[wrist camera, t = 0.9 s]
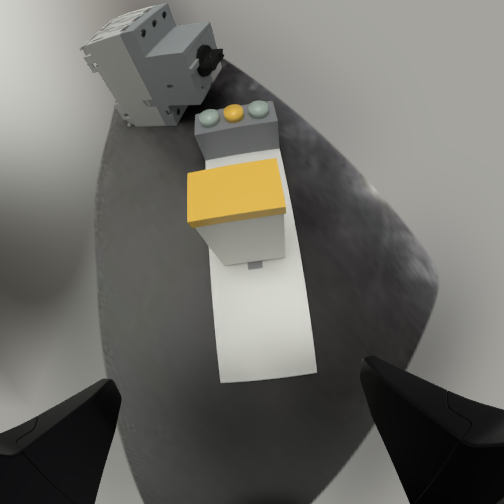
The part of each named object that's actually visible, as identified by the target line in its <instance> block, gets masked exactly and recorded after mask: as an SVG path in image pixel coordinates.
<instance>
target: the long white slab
mask: <svg viewBox="0 0 504 504" xmlns="http://www.w3.org/2000/svg"><path fill="white" fill-rule="evenodd" d="M195 137H196V140H197V142H198V144H199V147H200V149H201V151H202V154H203V156H204V158H205V161H206V170H207V169H212V168H217V167H223V166H228V165H234V164H240V163H246V162H253V161H259V160H266V159H273V158H277V163H278V168H279V173H280V178H281V183H282V188H283V193H284V199H285V204H286V214H284V231H285V257H282V258H275V259H268V260H261V261H254V262H247V263H239V264H232V265H225V266H224V265H223V264H222V262H221V261H220V260H219V259H218V257H217V256H216V255H215V253H214V252H213V251H212V249H211V248H210V247H209V257H210V273H211V287H212V300H213V312H214V324H215V335H216V345H217V355H218V365H219V374H220V382H221V383H229V382H244V381H256V380H266V379H275V378H283V377H291V376H298V375H305V374H311V373H317V368H316V359H315V351H314V343H313V335H312V328H311V321H310V314H309V307H308V300H307V293H306V287H305V280H304V274H303V268H302V262H301V256H300V250H299V244H298V239H297V233H296V228H295V222H294V217H293V212H292V206H291V201H290V196H289V191H288V186H287V181H286V176H285V172H284V167H283V162H282V158H281V153H280V149H279V133H278V120H277V116H276V112H275V109H274V105H273V101H268V102H264V101H254V102H252V103H250V104H247V105H241V106H240V105H236V104H234V105H229V106H227V107H226V108H224V109H219V110H214V109H208V110H205V111H203V112H202V113H200V114H195Z"/></svg>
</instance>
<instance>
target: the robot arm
mask: <svg viewBox="0 0 504 504" xmlns="http://www.w3.org/2000/svg"><path fill="white" fill-rule="evenodd" d="M360 380H361V384H362V387H363V390H364V393H365V396H366V399H367V403H368V406H369V409H370V412H371V415H372V417H373V420H374V422H375V424H376V426H377V429H378V431H379V433H380V435H381V437H382V440H383V442H384V444H385V446H386V449H387V451H388V453H389V455H390V457H391V460H392V462H393V465H394V467H395V469H396V472H397V474H398V476H399V479H400V481H401V483H402V486H403V488H404V490H405V493H406V495H407V498H408V500H409V503H410V504H504V410H503V409H499V408H496V407H492V406H489V405H485V404H482V403H479V402H476V401H473V400H470V399H467V398H464V397H462V396H460V395H457V394H455V393H452V392H450V391H447V390H445V389H443V388H441V387H439V386H437V385H434V384H432V383H430V382H428V381H426V380H424V379H422V378H419V377H417V376H415V375H413V374H411V373H409V372H407V371H405V370H403V369H400V368H398V367H396V366H394V365H392V364H390V363H388V362H386V361H384V360H382V359H380V358H378V357H376V356H369V357H365V358H363V359H362V363H361V373H360ZM120 405H121V394H120V392H119V390H118V388H117V386H116V384H115V382H114V381H113V380H112V379H101V380H100V381H98V382H96V383H95V384H93V385H91V386H89V387H88V388H86V389H84V390H83V391H81V392H79V393H77V394H76V395H74V396H72V397H70V398H69V399H67V400H65V401H64V402H62V403H60V404H58V405H56V406H55V407H53V408H51V409H49V410H47V411H46V412H44V413H42V414H40V415H39V416H37V417H35V418H33V419H31V420H29V421H27V422H25V423H23V424H21V425H19V426H17V427H14V428H12V429H10V430H8V431H5V432H3V433H0V504H95V500H96V496H97V492H98V488H99V484H100V481H101V477H102V473H103V469H104V466H105V463H106V460H107V456H108V453H109V450H110V446H111V443H112V440H113V437H114V433H115V429H116V424H117V419H118V415H119V410H120Z"/></svg>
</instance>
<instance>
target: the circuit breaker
mask: <svg viewBox="0 0 504 504" xmlns="http://www.w3.org/2000/svg"><path fill="white" fill-rule="evenodd" d="M82 49H83V50H84V52H85V55H86V56H85V57H84V59H85V61H86V62H87V64H88V66H89V67H90V69H91V70H92V72H93V73H95V72H99V73H100V75H101V77H102V78H103V80H104V82H105V83H106V85H107V86H108V88H109V90H110V91H111V93H112V94H113V96H114V98H115V99H116V101H117V102H116V103H115V105H114V106H115V108H116V109H117V111H118V112H119V114H120V115H121V117H122V118H123V120H127V122H128V125H127V126H128V127H131V125H135V127H138V126H177V124H178V123H179V121H180V119H181V117H182V115H183V114H184V112H185V110H186V108H187V106H188V105H201V103H202V102H203V100H204V98H205V96H206V94H207V93H208V91H209V89H210V87H211V86H210V84H213V82H214V81H215V79H216V77H217V76H218V74H219V72H220V71H221V69H222V67H221V63H220V61H221V60H222V59H223V57H224V55H223V49H217V47H216V43H215V39H214V35H213V31H212V27H211V24H210V22H203V23H196V24H195V23H194V24H187V25H180V26H176V25H175V23H174V20H173V17H172V14H171V11H170V8H169V5H168V3H163V4H159V5H155V6H151V7H147V8H143V9H140V10H136V11H133V12H130V13H127V14H123V15H121V16H120V17H115V18H114V19H113V20H111V21H110V22H109V23H108V24H107V25H105V26H104V27H103V28H101V31H100V32H98V33H96V34H94V35H93V36H92V37H91V38H90V39H89V40H88V41H87V42H86V43H85V44H83V45H82V46H81V47H80V50H82ZM93 63H96V64H97V66H96V67H94V65H93ZM126 113H127V114H128V115H129V116H125V115H124V114H126Z"/></svg>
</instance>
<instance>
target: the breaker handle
mask: <svg viewBox="0 0 504 504" xmlns="http://www.w3.org/2000/svg"><path fill="white" fill-rule="evenodd" d="M284 214H286V204H285V199H284V193H283V188H282V183H281V178H280V173H279V168H278V163H277V158H273V159H266V160H259V161H253V162H246V163H240V164H234V165H228V166H223V167H217V168H212V169H207V170H202V171H197V172H192V173H188V180H187V221H188V223H189V225H190V226H191V227H192V228H196V230H197V231H198V232H199V234H200V235H201V236H202V238H203V239H204V240H205V242H206V243H207V244H208V246H209V247H210V248H211V249H212V251H213V252H214V253H215V255H216V256H217V257H218V259H219V260H220V261H221V262H222V264H223V265H224V266H225V265H232V264H239V263H247V262H254V261H261V260H268V259H275V258H282V257H285V231H284Z"/></svg>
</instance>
